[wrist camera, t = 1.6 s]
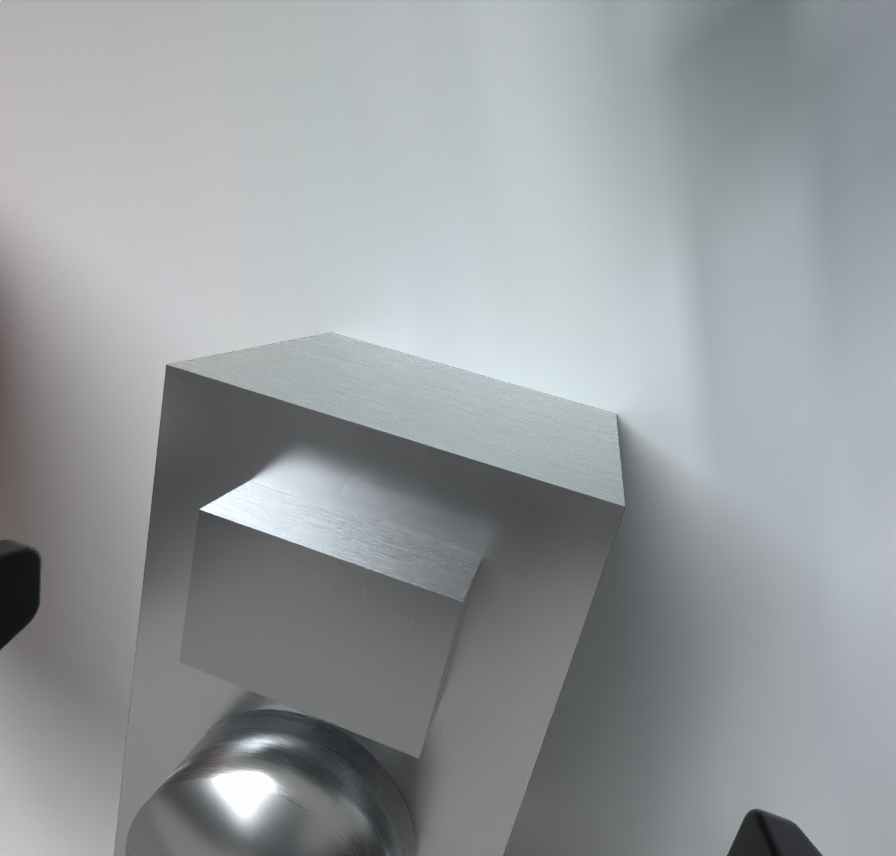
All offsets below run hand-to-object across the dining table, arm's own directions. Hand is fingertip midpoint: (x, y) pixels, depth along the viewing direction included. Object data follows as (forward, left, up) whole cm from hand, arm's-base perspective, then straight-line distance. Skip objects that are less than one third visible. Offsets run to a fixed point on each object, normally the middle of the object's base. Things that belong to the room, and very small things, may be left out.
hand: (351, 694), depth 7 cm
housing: (0, 0, -3) cm, 3 cm away
